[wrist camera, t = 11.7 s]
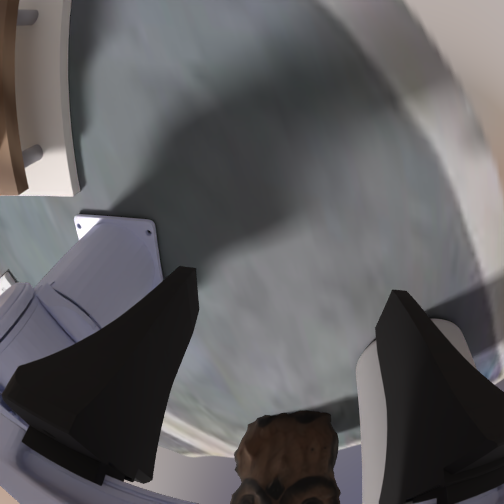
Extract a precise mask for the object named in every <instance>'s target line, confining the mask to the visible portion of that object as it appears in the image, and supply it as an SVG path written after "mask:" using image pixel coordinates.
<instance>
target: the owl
mask: <svg viewBox="0 0 504 504" xmlns="http://www.w3.org/2000/svg"><path fill="white" fill-rule="evenodd" d="M338 443H339V440H338V435H337V433H336V432H335V431H334V429H333V427H332V425H331V415H330V414H329V413H323V412H314V411H298V412H295V413H292V414H287V413H281V414H279V415H274V416H270V415H265V416H263V417H260V418H257V420H256V421H255V422H253V423H251V424H248V429H247V432H246V433H245V435H244V437H243V438H242V440H241V443H240V445H239V447H238V449H237V450H236V451H235V454H234V456H235V461H236V463H237V464H236V468H235V471H236V472H237V473H238V476H239V477H240V479H241V482H242V483H241V486H240V487H239V488H238V489H237V490H236V492H235V493H234V494H233V495H232V499H231V502H230V504H340V500H339V496H340V490H339V488H338V487H337V484H336V481H335V478H334V472H333V468H334V465H335V462H336V458H337V454H338Z"/></svg>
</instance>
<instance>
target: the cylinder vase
mask: <svg viewBox="0 0 504 504" xmlns="http://www.w3.org/2000/svg"><path fill="white" fill-rule="evenodd" d="M431 320H432V321H433V322H434V324H435V325H436V326H437V327H438V328H439V330H440V331H441V332H442V333H443V334H444V336H445V337H446V338H447V339H448V340H449V341H450V342H451V344H452V345H453V346H454V347H455V348H456V349H457V350H458V351H459V352H460V353H461V354H462V356H463V357H464V358H465V359H466V360H467V361H468V362H469V363H470V364H471V365H472V366H473V367H474V368H476V366H475V363H474V361H473V358H472V355H471V353H470V350H469V348H468V345H467V343H466V341H465V338H464V336H463V333H462V332H461V330H460V329H459V328H458V327H457V326H456V325H455V324H454V323H452V322H450V321H447V320H443V319H431ZM356 380H357V390H358V402H359V414H360V429H361V446H362V447H361V448H362V490H363V493H362V495H363V497H362V498H363V499H362V504H379V498H380V494H381V488H382V483H383V477H384V470H385V460H386V447H387V408H386V399H385V393H384V387H383V381H382V376H381V371H380V365H379V360H378V354H377V345H376V340H375V341H373V342H372V343H371V344H370V345H369V346H368V347H367V348H366V349H365V351H364V352H363V353H362V355H361V356H360V358H359V360H358V363H357V366H356Z"/></svg>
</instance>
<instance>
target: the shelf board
mask: <svg viewBox="0 0 504 504" xmlns="http://www.w3.org/2000/svg"><path fill="white" fill-rule="evenodd" d="M18 7H19V0H0V196H8V195H20V194H21V193H23V192H24V191H26V190H27V189H29V187H28V182H27V177H26V172H25V167H24V162H23V156H22V150H21V144H20V136H19V129H18V120H17V109H16V94H15V39H16V26H17V16H18Z"/></svg>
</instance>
